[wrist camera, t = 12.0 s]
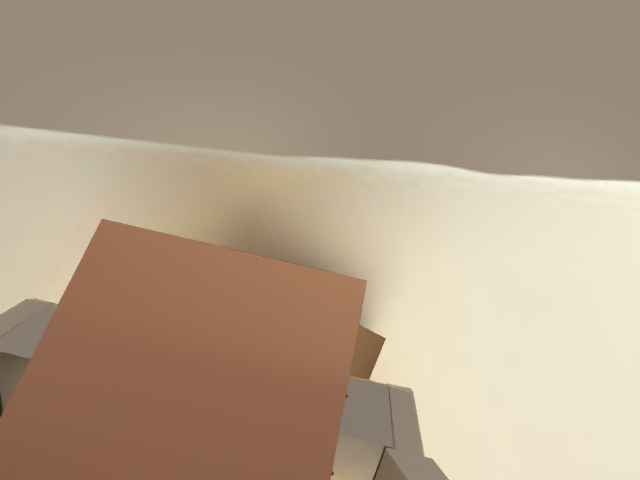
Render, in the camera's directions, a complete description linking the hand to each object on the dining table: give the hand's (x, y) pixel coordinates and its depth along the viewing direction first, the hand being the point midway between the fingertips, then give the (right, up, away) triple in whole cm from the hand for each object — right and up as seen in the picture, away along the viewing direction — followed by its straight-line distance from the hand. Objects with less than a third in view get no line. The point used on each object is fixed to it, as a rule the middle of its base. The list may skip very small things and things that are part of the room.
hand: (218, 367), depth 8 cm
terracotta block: (-1, -3, +6) cm, 7 cm away
